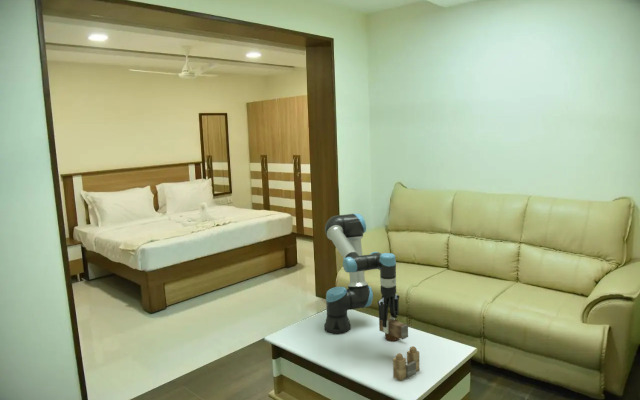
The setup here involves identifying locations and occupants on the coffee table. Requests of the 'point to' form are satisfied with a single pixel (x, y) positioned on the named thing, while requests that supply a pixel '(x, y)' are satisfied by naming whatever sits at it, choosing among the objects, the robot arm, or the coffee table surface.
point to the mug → (390, 337)
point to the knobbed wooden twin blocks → (406, 370)
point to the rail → (395, 328)
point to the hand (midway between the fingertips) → (389, 331)
